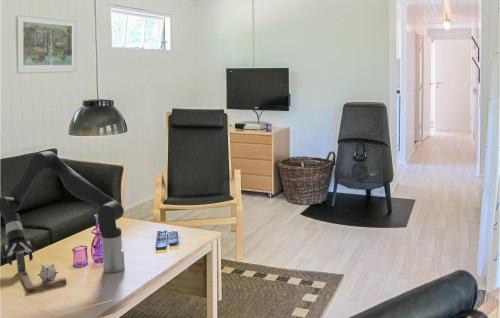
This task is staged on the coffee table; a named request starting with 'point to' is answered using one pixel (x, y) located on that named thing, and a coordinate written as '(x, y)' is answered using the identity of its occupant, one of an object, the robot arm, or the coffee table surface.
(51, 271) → the grey spiky ball
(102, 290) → the coffee table surface
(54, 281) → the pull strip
